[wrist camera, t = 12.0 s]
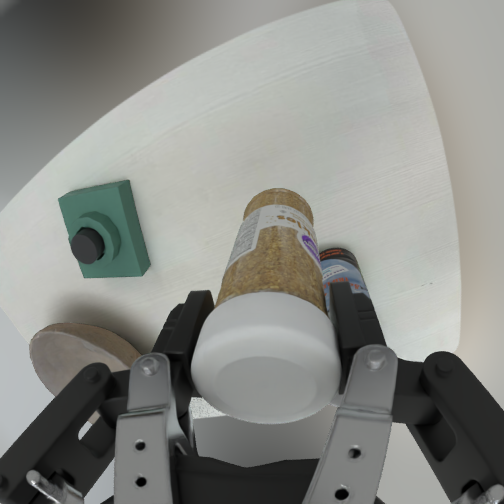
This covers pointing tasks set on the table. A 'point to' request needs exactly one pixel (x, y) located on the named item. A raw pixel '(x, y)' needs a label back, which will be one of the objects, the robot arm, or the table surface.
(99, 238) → the button
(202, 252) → the table surface
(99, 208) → the green push button box
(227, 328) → the sprinkles bottle
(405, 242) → the table surface
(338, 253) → the beverage can
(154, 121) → the table surface
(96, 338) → the bowl
